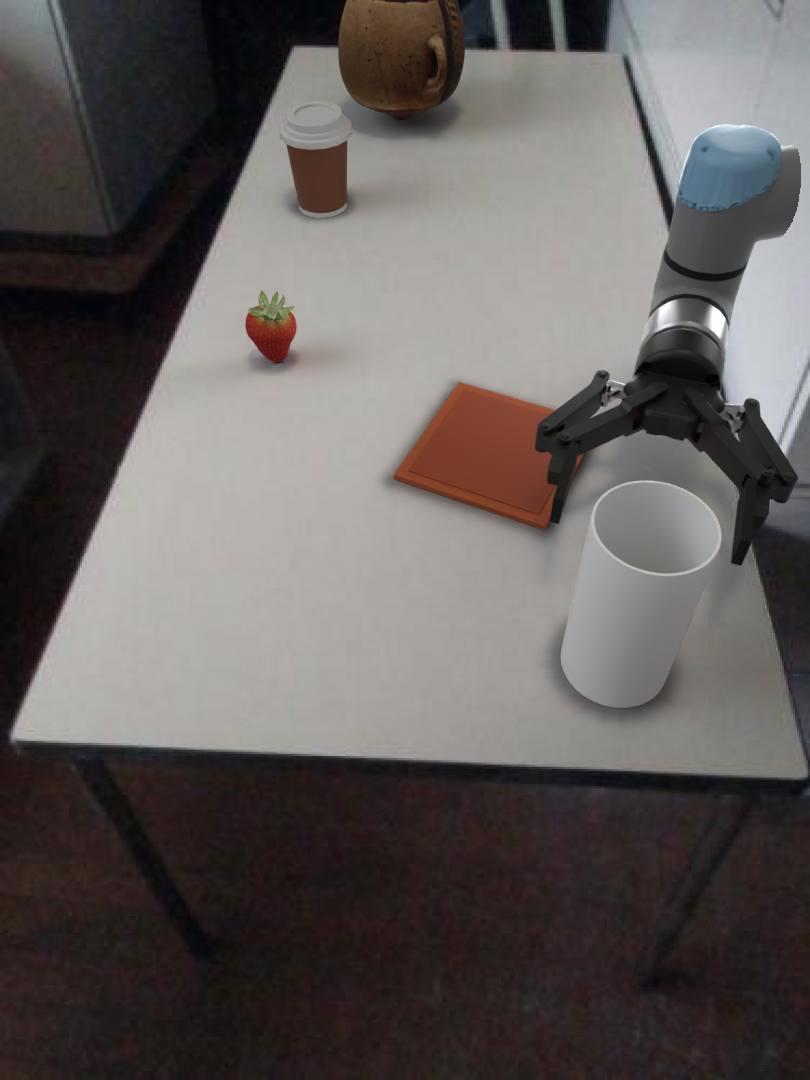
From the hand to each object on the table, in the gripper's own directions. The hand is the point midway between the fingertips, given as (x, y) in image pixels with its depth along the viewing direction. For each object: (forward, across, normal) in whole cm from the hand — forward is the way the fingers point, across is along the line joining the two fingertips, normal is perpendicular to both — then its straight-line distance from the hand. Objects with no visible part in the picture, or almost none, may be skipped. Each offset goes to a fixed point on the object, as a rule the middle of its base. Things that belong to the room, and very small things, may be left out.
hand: (646, 532), depth 63 cm
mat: (-14, +14, -9) cm, 22 cm away
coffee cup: (-53, +48, -9) cm, 72 cm away
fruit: (-21, +41, -9) cm, 47 cm away
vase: (-81, +47, -9) cm, 94 cm away
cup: (+6, 0, -9) cm, 11 cm away
